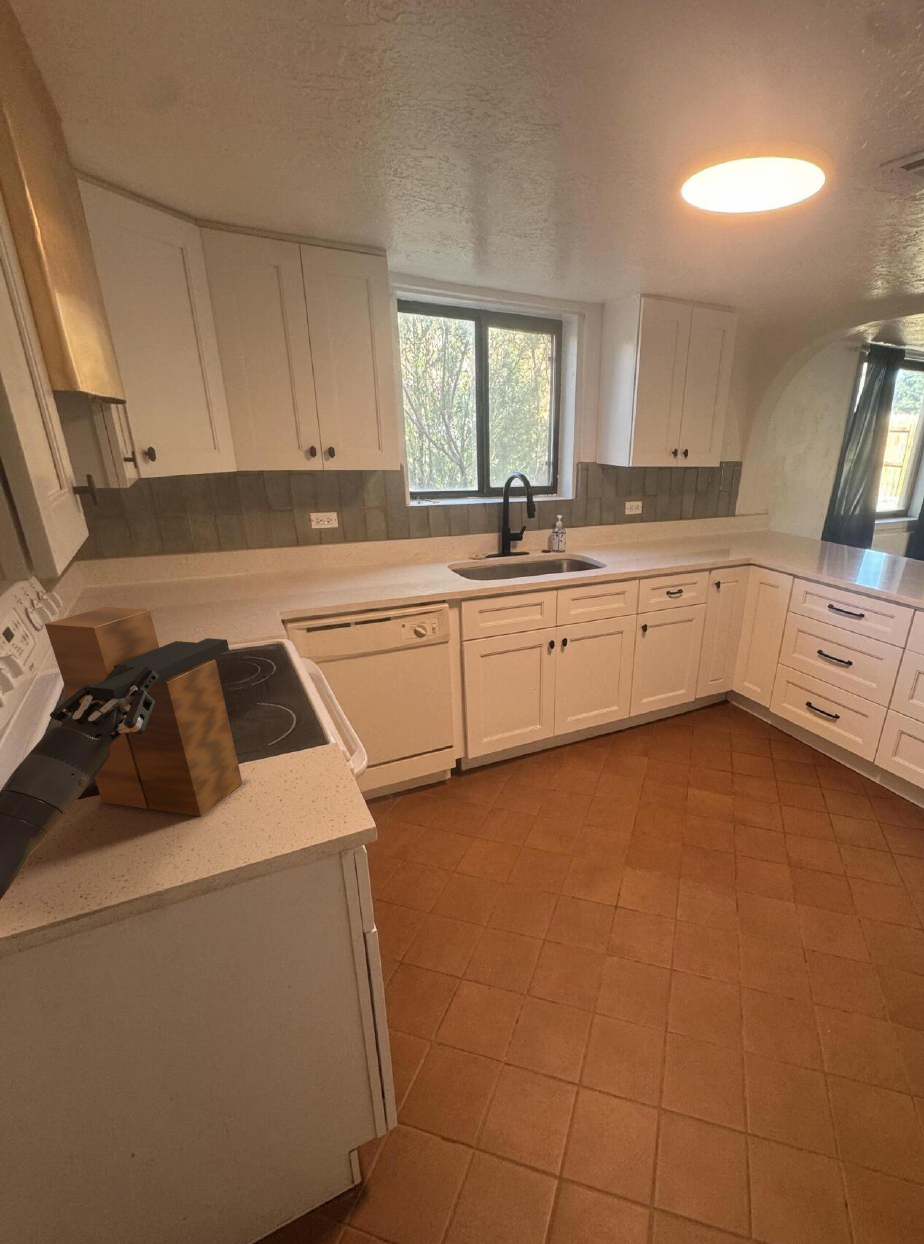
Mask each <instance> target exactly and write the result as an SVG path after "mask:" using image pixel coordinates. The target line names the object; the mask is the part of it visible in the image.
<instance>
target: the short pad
mask: <svg viewBox="0 0 924 1244" xmlns="http://www.w3.org/2000/svg"><path fill="white" fill-rule="evenodd" d="M194 643H196V641H195V642H194V641H193V642H192V641H180V640H175V641H173V642H169V643H167V644H165V645H162V646H159V648H157V649H155V650H152V651H150V652H147V653H145V654H142V655H140V656H137V657H135V658H132V659H130V660H127V661H125V662H122V663H120V664H125V665H127V666H128V667H129V668H130V669H134V668H136V667H139V666H141V665H144V664H146V663H148V662H151V661H153V660H156V659H158V658H161V657H163V656H165V655H168V654H170V653H173V652H175V651H178V650H180V649H182V648H185V647H187V646H190V645H192V644H194ZM118 665H119V664H117V665H115V666H113V667H114V669H115V668H116V667H117V666H118Z"/></svg>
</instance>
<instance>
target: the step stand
mask: <svg viewBox="0 0 924 1244" xmlns="http://www.w3.org/2000/svg"><path fill="white" fill-rule="evenodd" d="M44 627H45V630H46V633H47V635H48V639H49V642H50V646H51V648H52V651H53V654H54V657H55V660H56V664H57V667H58V669H59V672H60V676H61V679H62V682H63V685H64V689H65V691H66V694H67V697H68V699H69V698H70V697H71V696H72V695H74V694H75V693H76V692H77V691H79V690H80V689H81V688H82V687H84V686H85V685H90V686H93V685H95V684H97V683H100V682H102V681H104V680H105V679H106V678H107V676H108V675H109V674H110V673H111V672H112V670H113V669H114V667H113V666H115V665H117V664H120V663H122V662H125V661H127V660H130V659H132V658H135V657H137V656H140V655H142V654H145V653H147V652H150V651H152V650H155V649H157V648H160V644H159V640H158V636H157V633H156V629H155V625H154V621H153V617H152V614H151V610H150V609H146V608H145V609H144V608H129V607H128V608H127V607H113V606H111V607H110V606H103V607H99V608H96V609H91V610H89V611H85V612H82V613H78V614H75V615H72V616H71V615H70V616H68V617H64V618H61V619H58V620H53V621H50V622H48V623H44ZM217 665H218V664H217V661H216V659H214V658H211V659H209V660H207V661H205V662H203V663H201V664H198V665H196V666H194V667H192V668H190V669H188V670H185V671H183V672H181V673H179V674H177V675H175V676H172V677H170V678H168V679H166V680H164V681H161V682H159V683H157V684H155V685H153V686H152V687H151V689H150V690H149V691H148V693H147V694H148V695H149V696H150V697H151V698H152V699H153V700H154V701H155V704H154V706H153V709H152V711H151V714H150V717H149V719H148V722H147V725H146V727H145V730H144V732H143V733H142V734H140V735H136V734H135V733H134V732H127V733H122V735H121V736H120V737H119V738H117V739H116V740H115V741H114V742H113V743H112V744H111V746H110V752H111V754H110V757H109V758H108V759H107V761H106V762H105V763H104V765H103V766H102V767H101V769H100V770H99V771H98V773H97V774H96V775H95V777H94V780H95V783H96V786H97V790H98V793H99V795H100V798H101V802H102V803H104V804H111V805H118V806H124V807H125V806H126V807H133V808H139V809H149V810H154V811H159V812H161V811H162V812H168V813H175V814H182V815H190V816H196V817H202V816H203V815H205V814H206V813H207V812H208V811H209V810H211V809H212V808H214V807H215V806H216V805H217V804H218V803H220V802H221V801H222V800H223V799H225V798H226V797H228V795H230V794H231V793H232V792H233V791H235V790H236V789H237V788H238V787H240V786H241V785H242V784H243V779H242V775H241V769H240V765H239V760H238V756H237V753H236V752H237V751H236V748H235V742H234V738H233V734H232V730H231V725H230V720H229V715H228V710H227V706H226V701H225V698H224V692H223V688H222V685H221V680H220V674H219V669H218V666H217ZM86 696H87V695H85V696H84V697H83V698H82V699H80V700H79V703H81V704H82V702H83V700H84V698H85V697H86ZM133 699H134V697H133V696H132V697H131V698H130V699H128V700H127V703H128V704H130V703H131V702H132V701H133ZM143 705H144V704H142V706H143ZM116 707H117V708H118V709H119V710H121V711H122V712H123V713H124V709H123V708H121V707H120V706H119V705H118V706H116Z"/></svg>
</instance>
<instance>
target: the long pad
mask: <svg viewBox="0 0 924 1244" xmlns="http://www.w3.org/2000/svg"><path fill="white" fill-rule="evenodd" d="M229 651H230V646H229V643H228V639H225V638H224V639H223V638H221V639H220V638H212V637H211V638H209V637H207V638H204V639H202V640H199V641H197V642H195V643H194V644H192V645H190V646H187V647H185V648H182V649H180V650H178V651H175V652H173V653H170V654H168V655H165V656H163V657H161V658H158V659H156V660H153V661H151V662H148V663H146V664H144V665H141V666H139V667H136V668H134V669H131V670H129V671H127V672H124V673H122V674H119V675H117V676H114V677H112V678H110V679H107V680H105V681H102V682H100V683H97V684H95V685H93V686H90V687H89V690H90V694H91V696H93V697H94V699H95V700H97V701H107V702H109V701H110V700H111V699H112V698H113V699H115V698H116V697H121V696H122V694H123V693H124V692H125V691H126V690H127V689H128V688H129V687H131V684H132V683H133V682H134V680H135V679H136V678H137V676H138V675H139V674H140V673H141V671H142V670H143V669H144V668H145V667H146V666H150V667H153V668H154V669H155V670H156V671H157V672H158V673H159V677H158V680H157V681H156V682H155V683H154V685H155V684H157V683H159V682H161V681H164V680H166V679H168V678H170V677H172V676H175V675H177V674H179V673H181V672H183V671H185V670H188V669H190V668H192V667H194V666H196V665H198V664H201V663H203V662H205V661H207V660H209V659H214V658H216V657H218V656H220V655H222V654H224V653H227V652H229Z"/></svg>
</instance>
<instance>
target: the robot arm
mask: <svg viewBox="0 0 924 1244" xmlns="http://www.w3.org/2000/svg"><path fill="white" fill-rule="evenodd" d="M129 670H131V669H130V668H129V667H128V666H127V665H125V664H119V665H118V666H117V667H116V668H115V669H113V670H112V672H111V673H110V674H109V675H108V676H107V678H106V679H105V680H107V679H110V678H112V677H114V676H117V675H119V674H122V673H124V672H127V671H129ZM158 677H159V673H158V672H157V671H156V670H155V669H154V668H153V667H150V666H146V667H145V668H144V669H143V670H142V671H141V673H140V674H139V675H138V676H137V678H136V679H135V680H134V682H133V683H132V684H131V687H129V688H128V689H127V690H126V691H125V692H124V693H123V694H122V696H121V697H116V698H115V699H113V698H112V699H111V700H110V701H109V702H107V701H97V700H95V699H94V697H93V696H91V694H90V690H89V687H90V685H85V686H84V687H82V688H81V689H80V690H79V691H77V692H76V693H75V694H74V695H72V696H71V697H70V698H69V697H68V698H67V699H66V700H65V701H63V703H61V704H59V706H57V707H56V708H55V709H54V710H52V711H51V712H50V713H49V717H50V718H51V719H53V721H55V722H57V723H58V724H59V725H60V726H59V725H58V726H53V727H51V728H49V729H48V730H47V731H46V733H45V734H44V735H43V736H42V737H41V739H40V740H39V741H38V742H37V743H36V744H35V746H34V747H33V748H32V749H31V750H30V751H29V753H28V754H27V755H26V756H25V757H24V759H23V760H22V761H21V762H20V763H19V764H18V765H17V767H16V768H15V769H14V770H13V772H12V773H11V774H10V776H9V777H8V778H7V780H6V782H5V784H4V785H3V787H2V788H1V789H0V902H1V901H2V899H4V897H5V895H6V893H7V892H8V891H9V889H10V887H11V886H12V884H14V881H16V879H17V877H18V876H19V874H20V873H21V871H22V869H23V867H24V866H25V865H26V863H27V861H28V860H29V858H30V856H31V855H33V853H34V852H35V851H36V850H37V849H38V848H39V846H41V845H42V844H43V842H44V841H45V840H46V838H47V837H48V836H49V834H50V833H51V832H52V831H53V830H54V828H55V827H56V825H57V824H58V823H59V821H61V819H62V817H63V815H65V813H66V812H67V811H69V809H70V808H71V807H72V806H73V805H74V804H75V803H76V802H77V800H78V799H79V798H81V795H82V794H83V793H84V792H85V790H86V789H87V788H88V787H89V785H90V783H91V782H92V781H93V780H94V779H95V775H96V774H97V773H98V771H99V770H100V769H101V767H102V766H103V765H104V763H105V762H106V761H107V759H108V758H109V757H110V754H111V752H110V746H111V744H112V743H113V742H114V741H115V740H116V739H117V738H119V737H120V736H121V735H122V733H127V732H134V733H135V734H136V735H140V734H142V733H143V732H144V730H145V727H146V725H147V722H148V719H149V717H150V714H151V711H152V709H153V706H154V704H155V701H154V700H153V699H152V698H151V697H150V696H149V695H148V694H147V693H148V691H149V690H150V689H151V687H152V686H153V685H154V683H155V682H156V681H157V680H158ZM105 680H104V681H105ZM85 695H87V696H86V697H85V698H84V700H83V702H82V704H81V703H79V700H80V699H82V698H83V697H84V696H85ZM132 696H133V697H134V699H133V701H132V702H131V703H130V704H128V703H127V700H128V699H130V698H131V697H132ZM142 704H144V705H143V706H142ZM118 705H119V706H120V707H121V708H123V709H124V713H123V712H122V711H121V710H119V709H118V708H117V707H116V706H118Z"/></svg>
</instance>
